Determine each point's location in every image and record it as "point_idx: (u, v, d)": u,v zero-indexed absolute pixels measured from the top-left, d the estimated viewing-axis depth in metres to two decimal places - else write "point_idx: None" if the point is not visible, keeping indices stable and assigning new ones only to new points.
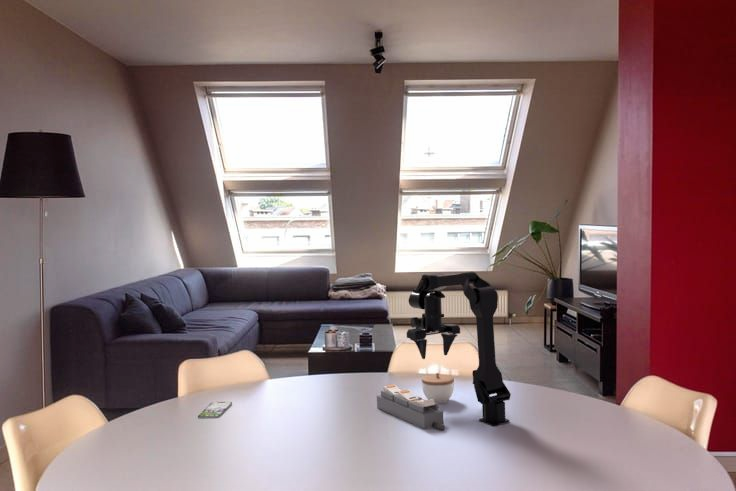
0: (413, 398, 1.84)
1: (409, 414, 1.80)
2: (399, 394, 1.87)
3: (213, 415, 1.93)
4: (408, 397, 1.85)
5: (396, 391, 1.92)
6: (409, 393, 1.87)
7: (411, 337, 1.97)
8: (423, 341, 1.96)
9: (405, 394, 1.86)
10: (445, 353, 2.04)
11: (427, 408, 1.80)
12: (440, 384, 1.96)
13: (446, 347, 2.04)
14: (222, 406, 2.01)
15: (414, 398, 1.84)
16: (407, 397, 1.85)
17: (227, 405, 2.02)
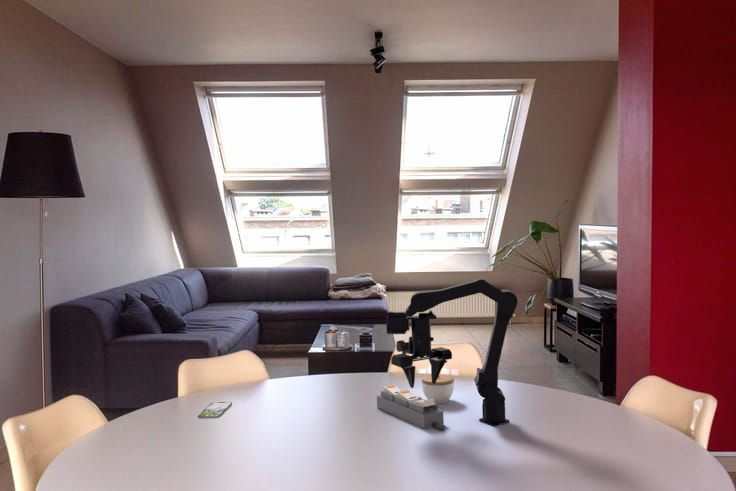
0: (413, 398, 1.84)
1: (409, 414, 1.80)
2: (399, 394, 1.87)
3: (213, 415, 1.93)
4: (408, 397, 1.85)
5: (396, 391, 1.92)
6: (409, 393, 1.87)
7: (396, 364, 1.75)
8: (411, 368, 1.74)
9: (405, 394, 1.86)
10: (433, 381, 1.81)
11: (427, 408, 1.80)
12: (440, 384, 1.96)
13: (434, 374, 1.81)
14: (222, 406, 2.01)
15: (414, 398, 1.84)
16: (407, 397, 1.85)
17: (227, 405, 2.02)
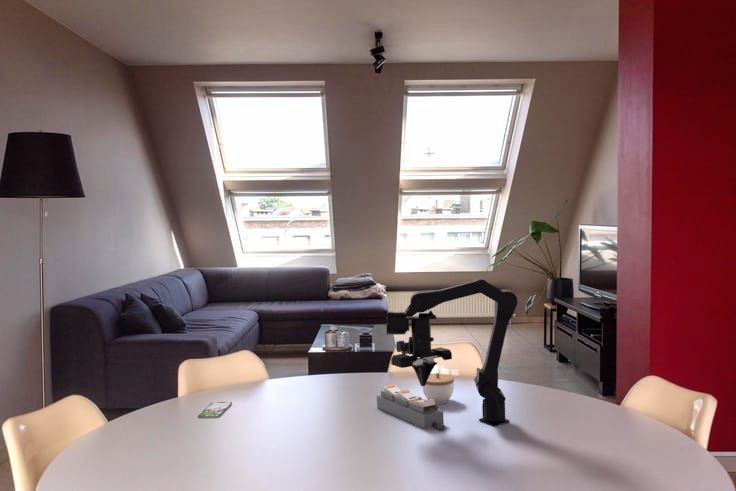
0: (413, 398, 1.84)
1: (409, 414, 1.80)
2: (399, 394, 1.87)
3: (213, 415, 1.93)
4: (408, 397, 1.85)
5: (396, 391, 1.92)
6: (409, 393, 1.87)
7: (396, 364, 1.74)
8: (422, 367, 1.76)
9: (405, 394, 1.86)
10: None
11: (427, 408, 1.80)
12: (440, 384, 1.96)
13: None
14: (222, 406, 2.01)
15: (414, 398, 1.84)
16: (407, 397, 1.85)
17: (227, 405, 2.02)
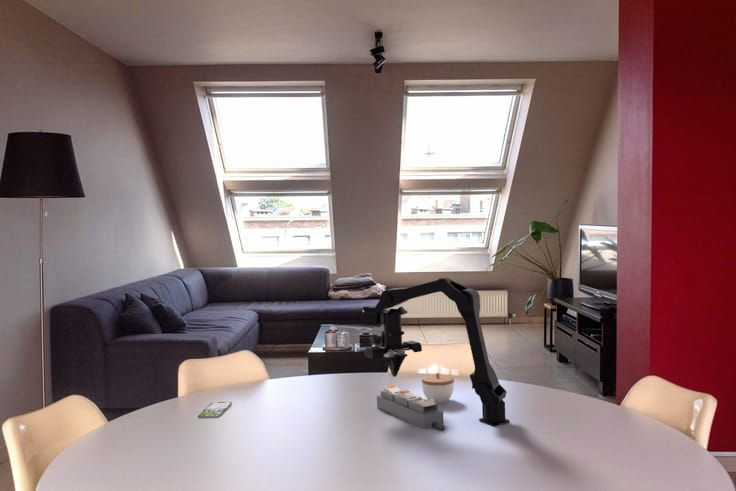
0: (413, 398, 1.84)
1: (409, 414, 1.80)
2: (399, 394, 1.87)
3: (213, 415, 1.93)
4: (408, 397, 1.85)
5: (396, 391, 1.92)
6: (409, 393, 1.87)
7: (369, 356, 1.88)
8: (393, 358, 1.89)
9: (405, 394, 1.86)
10: None
11: (427, 408, 1.80)
12: (440, 384, 1.96)
13: None
14: (222, 406, 2.01)
15: (414, 398, 1.84)
16: (407, 397, 1.85)
17: (227, 405, 2.02)
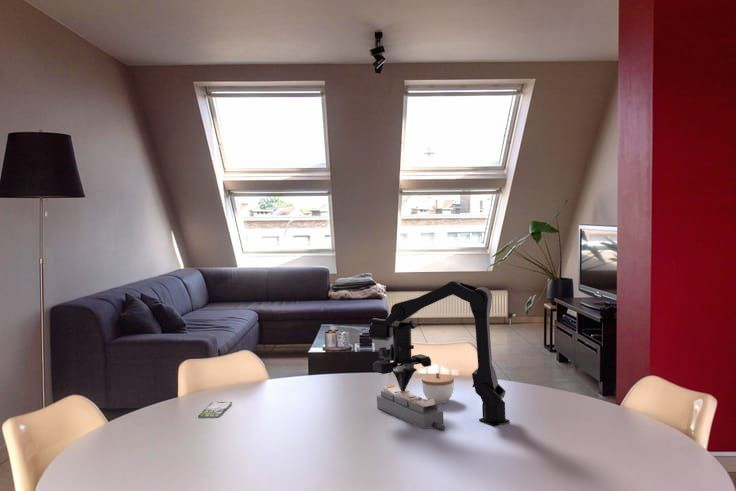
0: (413, 398, 1.84)
1: (409, 414, 1.80)
2: (399, 394, 1.87)
3: (213, 415, 1.93)
4: (408, 397, 1.85)
5: (396, 391, 1.92)
6: (409, 393, 1.87)
7: (377, 370, 1.84)
8: (402, 373, 1.85)
9: (405, 394, 1.86)
10: None
11: (427, 408, 1.80)
12: (440, 384, 1.96)
13: None
14: (222, 406, 2.02)
15: (414, 397, 1.84)
16: (407, 397, 1.85)
17: (227, 405, 2.02)
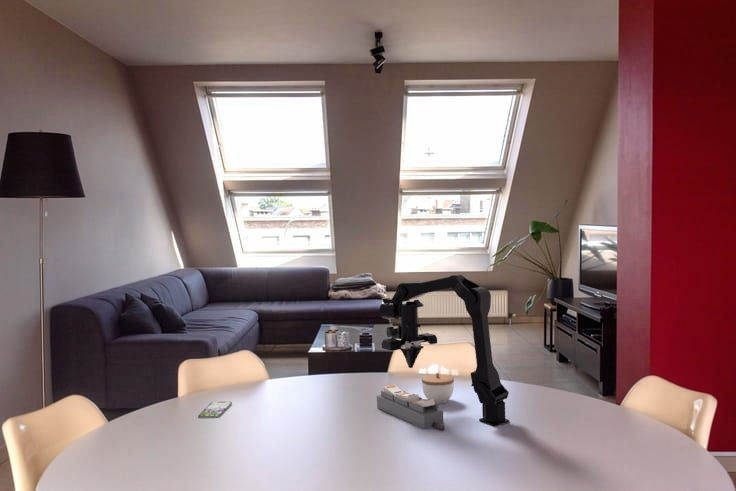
0: (413, 395, 1.84)
1: (409, 414, 1.80)
2: (399, 396, 1.87)
3: (213, 415, 1.93)
4: (408, 395, 1.85)
5: (396, 391, 1.92)
6: (408, 393, 1.87)
7: (386, 347, 1.91)
8: (409, 350, 1.93)
9: (405, 394, 1.87)
10: None
11: (427, 408, 1.80)
12: (440, 384, 1.96)
13: None
14: (222, 406, 2.02)
15: (414, 395, 1.84)
16: (407, 395, 1.85)
17: (227, 405, 2.02)
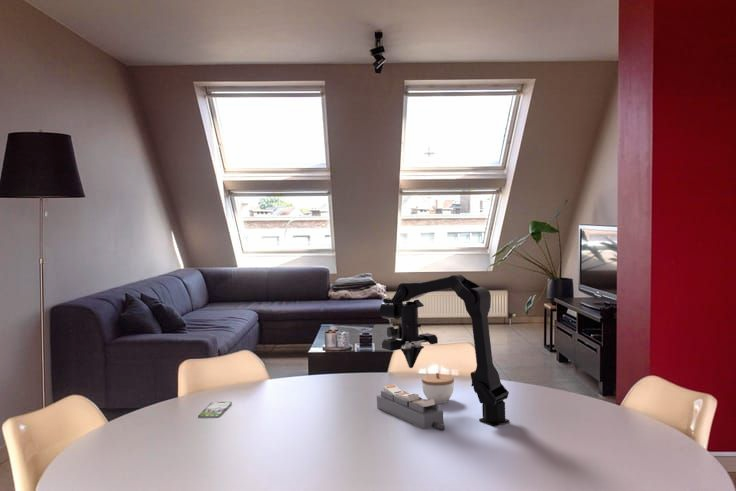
0: (412, 394, 1.84)
1: (409, 414, 1.80)
2: (399, 396, 1.87)
3: (213, 415, 1.93)
4: (407, 395, 1.85)
5: (396, 391, 1.92)
6: (408, 393, 1.87)
7: (386, 347, 1.91)
8: (410, 350, 1.93)
9: (404, 394, 1.87)
10: None
11: (427, 408, 1.80)
12: (440, 384, 1.96)
13: None
14: (222, 406, 2.02)
15: (413, 394, 1.85)
16: (406, 395, 1.85)
17: (227, 405, 2.02)
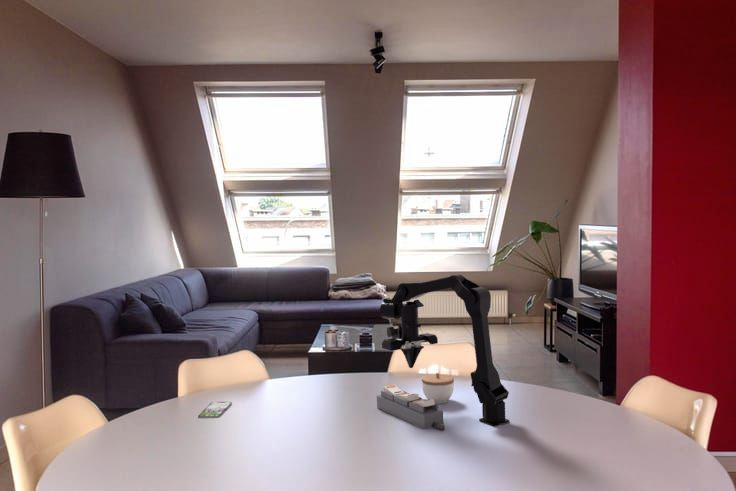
0: (412, 394, 1.84)
1: (409, 414, 1.80)
2: None
3: (213, 415, 1.93)
4: (407, 395, 1.85)
5: (396, 391, 1.92)
6: (408, 394, 1.87)
7: (386, 347, 1.91)
8: (410, 350, 1.93)
9: (404, 394, 1.87)
10: None
11: (427, 408, 1.80)
12: (440, 384, 1.96)
13: None
14: (222, 406, 2.02)
15: (413, 394, 1.85)
16: (406, 395, 1.85)
17: (227, 405, 2.02)
